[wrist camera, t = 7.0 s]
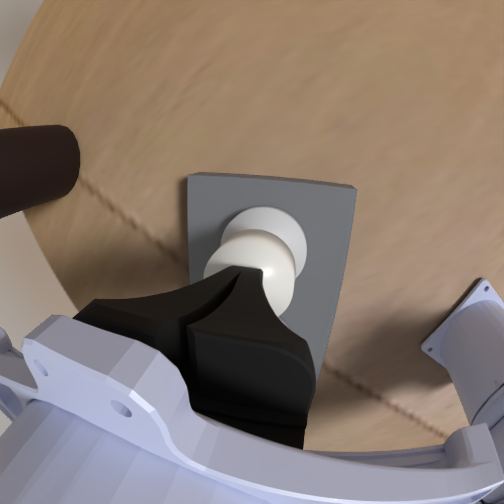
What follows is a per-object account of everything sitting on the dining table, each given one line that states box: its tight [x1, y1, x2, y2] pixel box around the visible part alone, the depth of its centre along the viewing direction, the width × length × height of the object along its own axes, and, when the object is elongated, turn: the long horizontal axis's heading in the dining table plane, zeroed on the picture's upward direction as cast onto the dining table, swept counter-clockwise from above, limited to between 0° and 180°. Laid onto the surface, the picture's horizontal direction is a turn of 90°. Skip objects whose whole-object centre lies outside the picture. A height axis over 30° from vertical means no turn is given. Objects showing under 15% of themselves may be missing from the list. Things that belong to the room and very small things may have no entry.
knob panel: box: [187, 172, 357, 384], centre depth 20 cm, size 22×10×3 cm, turn 177°
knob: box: [204, 229, 296, 317], centre depth 13 cm, size 4×4×2 cm
